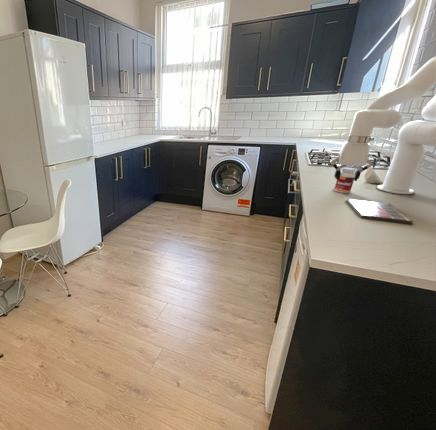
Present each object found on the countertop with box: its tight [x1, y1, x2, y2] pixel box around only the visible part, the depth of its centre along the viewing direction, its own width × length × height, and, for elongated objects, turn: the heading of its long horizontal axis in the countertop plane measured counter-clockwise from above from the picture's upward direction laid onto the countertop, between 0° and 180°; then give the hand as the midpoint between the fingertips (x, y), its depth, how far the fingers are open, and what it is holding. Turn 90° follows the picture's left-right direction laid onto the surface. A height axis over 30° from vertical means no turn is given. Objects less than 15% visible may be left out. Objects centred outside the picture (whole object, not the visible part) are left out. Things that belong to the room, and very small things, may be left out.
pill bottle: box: [333, 167, 357, 194], centre depth 130 cm, size 6×6×11 cm
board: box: [346, 198, 414, 225], centre depth 107 cm, size 20×14×1 cm
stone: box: [363, 166, 384, 185], centre depth 145 cm, size 10×7×10 cm
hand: (345, 179), depth 130 cm, fingers closed on pill bottle, 6 cm apart
